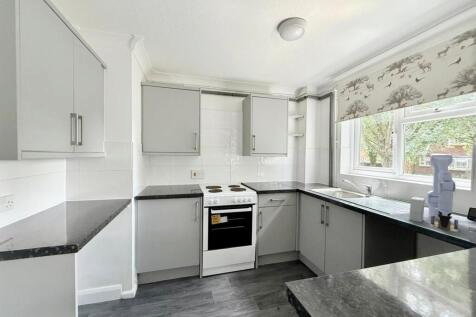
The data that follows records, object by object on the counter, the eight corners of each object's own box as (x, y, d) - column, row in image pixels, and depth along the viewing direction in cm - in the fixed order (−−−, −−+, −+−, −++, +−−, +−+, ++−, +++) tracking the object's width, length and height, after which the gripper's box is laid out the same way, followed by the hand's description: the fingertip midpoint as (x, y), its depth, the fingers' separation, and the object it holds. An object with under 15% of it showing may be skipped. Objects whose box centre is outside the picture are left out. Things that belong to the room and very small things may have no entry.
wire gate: (431, 222, 125) (431, 215, 125) (457, 228, 117) (458, 219, 117) (430, 224, 123) (431, 216, 123) (457, 229, 115) (458, 221, 115)
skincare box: (411, 218, 136) (413, 196, 135) (423, 220, 131) (425, 198, 131) (408, 220, 131) (410, 198, 130) (421, 223, 126) (422, 200, 125)
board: (431, 221, 130) (431, 220, 130) (457, 226, 122) (457, 225, 122) (430, 227, 119) (430, 226, 119) (458, 233, 111) (458, 232, 111)
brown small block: (437, 225, 120) (438, 218, 120) (450, 228, 116) (450, 220, 116) (437, 227, 116) (438, 220, 116) (450, 230, 113) (450, 222, 113)
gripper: (436, 199, 124) (434, 220, 124) (435, 202, 114) (433, 226, 114) (452, 201, 119) (451, 224, 119) (453, 205, 109) (452, 230, 109)
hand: (444, 225), depth 116 cm, fingers open, 7 cm apart
